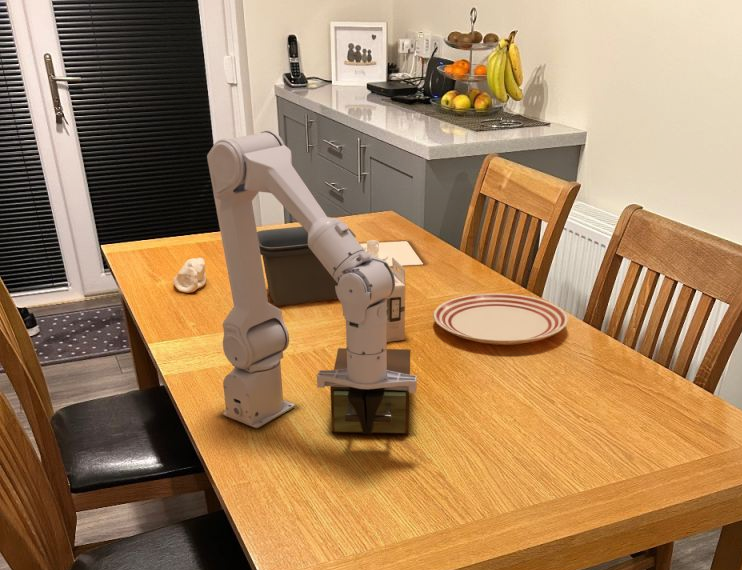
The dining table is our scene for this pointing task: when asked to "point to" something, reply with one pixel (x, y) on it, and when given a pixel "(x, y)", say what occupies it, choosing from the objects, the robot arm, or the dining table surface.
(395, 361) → the cabinet
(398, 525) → the dining table surface
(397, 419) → the drawer
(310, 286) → the storage bin
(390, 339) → the ink box
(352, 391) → the robot arm
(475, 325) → the dinner plate
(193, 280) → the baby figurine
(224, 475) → the dining table surface
